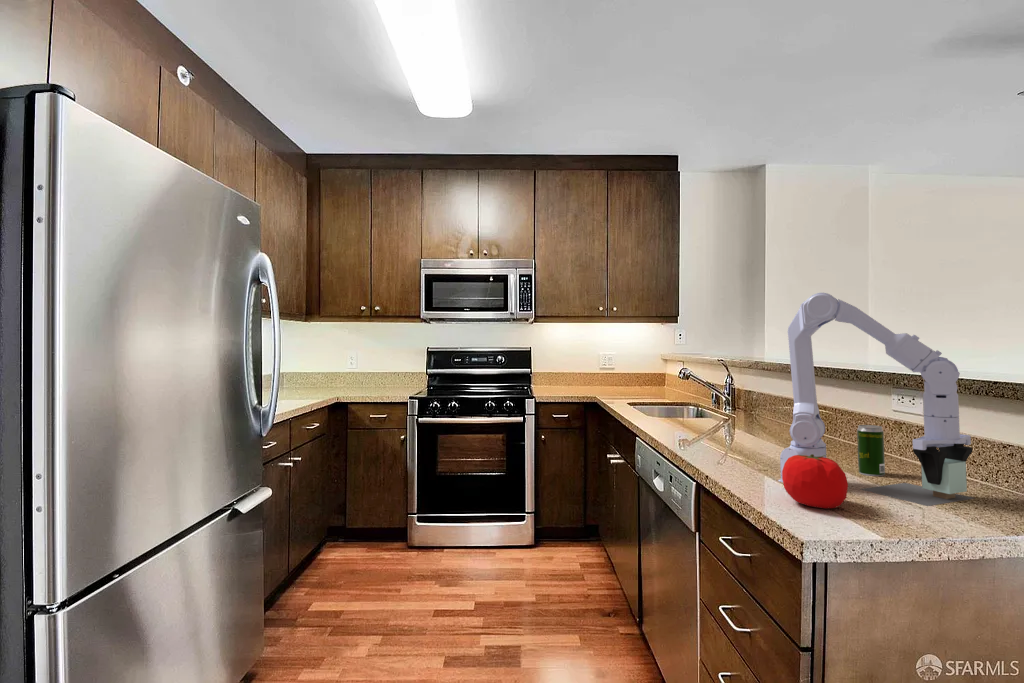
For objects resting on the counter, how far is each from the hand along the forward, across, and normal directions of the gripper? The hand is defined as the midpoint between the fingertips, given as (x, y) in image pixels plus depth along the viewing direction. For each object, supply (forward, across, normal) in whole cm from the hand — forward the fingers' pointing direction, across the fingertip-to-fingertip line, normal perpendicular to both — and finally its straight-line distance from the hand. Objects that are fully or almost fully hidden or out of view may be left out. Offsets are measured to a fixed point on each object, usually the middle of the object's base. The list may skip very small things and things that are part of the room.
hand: (943, 482), depth 110 cm
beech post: (+3, 0, 0) cm, 3 cm away
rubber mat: (+3, -2, +4) cm, 6 cm away
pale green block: (+2, 0, 0) cm, 2 cm away
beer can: (+4, +6, +20) cm, 21 cm away
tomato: (+4, -27, +7) cm, 28 cm away
